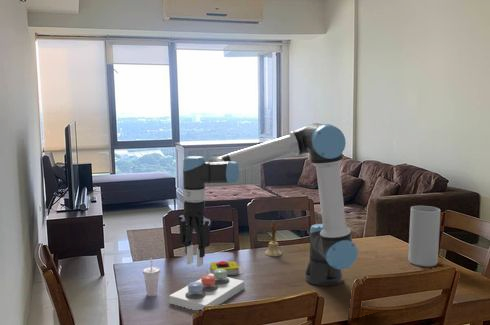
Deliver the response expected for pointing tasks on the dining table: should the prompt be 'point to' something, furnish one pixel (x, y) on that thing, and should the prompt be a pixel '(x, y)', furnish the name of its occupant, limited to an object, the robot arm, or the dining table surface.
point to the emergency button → (226, 267)
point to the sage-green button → (220, 273)
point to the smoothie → (151, 279)
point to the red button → (208, 280)
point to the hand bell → (273, 243)
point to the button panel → (207, 294)
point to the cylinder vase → (424, 235)
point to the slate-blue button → (195, 287)
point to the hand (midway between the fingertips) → (195, 264)
